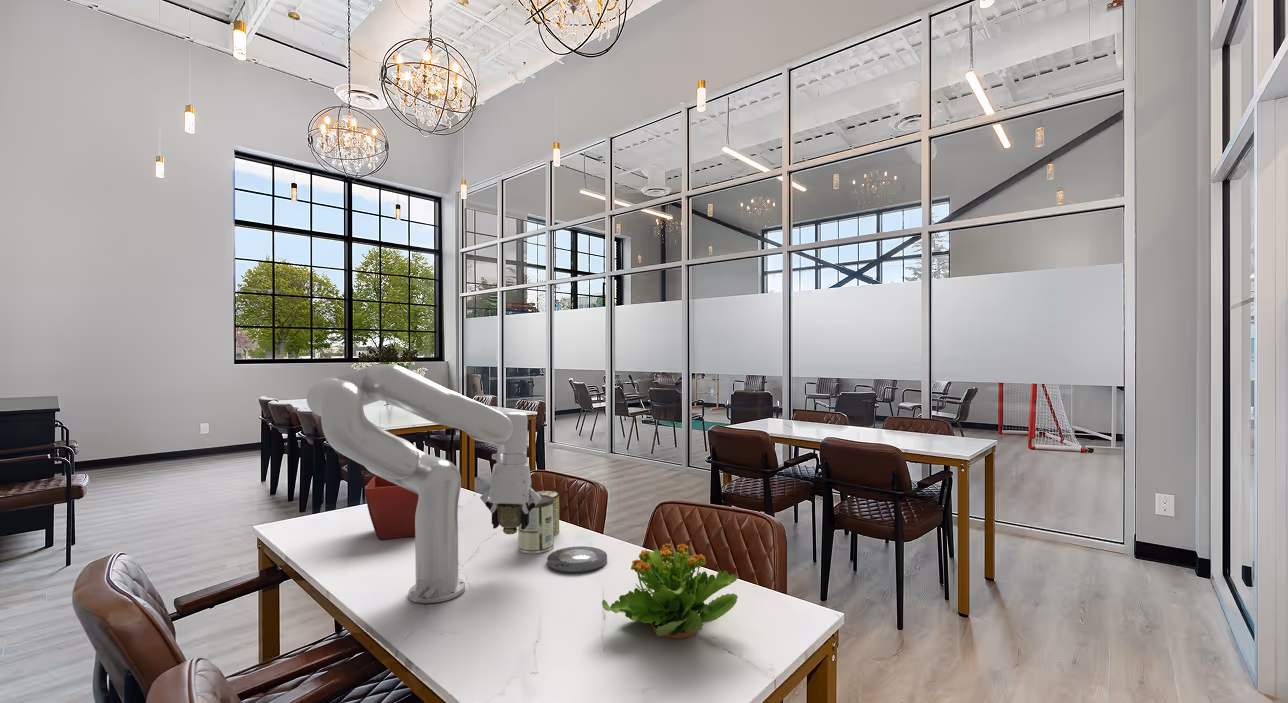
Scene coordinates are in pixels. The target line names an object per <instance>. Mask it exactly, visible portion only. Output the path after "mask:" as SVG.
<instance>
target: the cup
mask: <svg viewBox="0 0 1288 703" xmlns="http://www.w3.org/2000/svg"><path fill="white" fill-rule="evenodd" d="M522 514H523V509H522V505H513V504H500V505H499V504H498V505H497V517H498V522H499V526H500V527H502V532H503V534H505V535H515V534H516V533H518V526H519V525H520V524H521V523H522Z"/></svg>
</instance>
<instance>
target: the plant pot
mask: <svg viewBox="0 0 1288 703" xmlns="http://www.w3.org/2000/svg"><path fill="white" fill-rule="evenodd" d="M364 496H365V500H366V505H367V509H368V513H369V514H368V515H369V517H370V520H371V521H370V522H371V524H372V527H373V529H374V532H375V535H376V537H377V539H378V540H389V539H397V538H399V539H400V538H408V537H415V514H416V508H417V504H418V498H419V495H418V494H416V493H414V492H412V491H409V490H407V489H405V488H403V487H401V486H399V485H396V484H394V483H392V482H390V481H388V480H386V479H384V478H381V477H379V476H377V475H375V476H373V477H372V478H371V479H370V480H369V482H368V483H367V485H366V486H365V487H364Z"/></svg>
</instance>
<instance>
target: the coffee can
mask: <svg viewBox="0 0 1288 703" xmlns="http://www.w3.org/2000/svg"><path fill="white" fill-rule="evenodd" d="M539 496H541V498H542V499H541V500H540V501H539V503H538V504H537V505H536V506H535V507H534V508H533V509H532V510H531V511H530V512H529V525H527V527H526V528H525V529H524V530H522V529H521V524H520V525H519V526H518V527H517V529H518V530H517V533H518V538H517V539H518V547H517V550H518V551H519V552H521V553H523V554H529V555H531V554H543V553H547V552H549V551H551V550H553V549H554V546H555V543H554V537H555V536H553V500H554V499H553V497H551V496H547V495H539ZM533 501H534V498H533V497H532V496H531V499H530V500H528V503H529V505H530V504H531V503H532V502H533Z"/></svg>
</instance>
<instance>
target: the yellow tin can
mask: <svg viewBox="0 0 1288 703" xmlns="http://www.w3.org/2000/svg"><path fill="white" fill-rule="evenodd" d="M535 492H536V493H537V494H538V495H547V496H551V497H553V499H554V500H553V536H554V537H555V536H557V535H558V534H560V493H559V492H557V491H554V490H542V491H541V490H540V491H535Z"/></svg>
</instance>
